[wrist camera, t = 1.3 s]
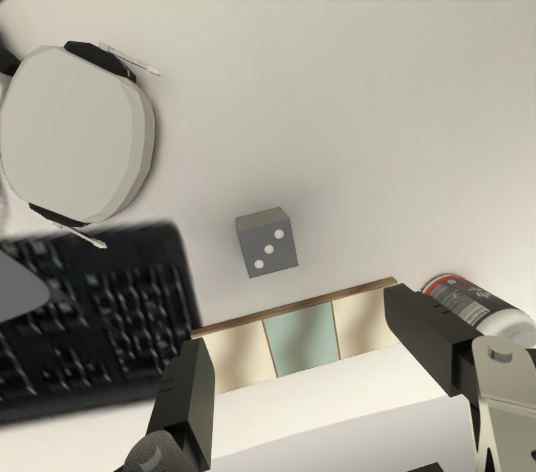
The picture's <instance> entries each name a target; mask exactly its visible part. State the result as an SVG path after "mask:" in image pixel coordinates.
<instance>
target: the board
mask: <svg viewBox="0 0 536 472" xmlns="http://www.w3.org/2000/svg"><path fill="white" fill-rule="evenodd" d="M393 285H397V281H396V280H395V279H394V278H393V277H391V278H387V279H383V280H379V281H376V282H372V283H368V284H364V285H361V286H357V287H353V288H349V289H346V290H342V291H338V292H334V293H331V294H327V295H323V296H319V297H316V298H312V299H308V300H304V301H301V302H297V303H293V304H289V305H285V306H282V307H278V308H274V309H270V310H267V311H263V312H259V313H255V314H252V315H248V316H244V317H240V318H237V319H233V320H229V321H225V322H222V323H218V324H214V325H210V326H207V327H203V328H199V329H195V330H192V331H191V338H192V339H196V338H200V337H202V338H203V339H204V341H205V344H206V347H207V350H208V352H209V355H210V358H211V360H212V363H213V366H214V371H215V395H218V394H222V393H225V392H229V391H232V390H236V389H239V388H243V387H246V386H250V385H253V384H257V383H260V382H264V381H268V380H271V379H275V378H278V377H282V376H285V375H289V374H292V373H296V372H299V371H303V370H306V369H310V368H314V367H317V366H321V365H324V364H328V363H331V362H335V361H338V360H342V359H345V358H349V357H352V356H356V355H360V354H363V353H367V352H370V351H374V350H377V349H381V348H384V347H388V346H391V345H395V344H398V343H400V340H399V339H398V338H397V337H396V336H395V335H394V334H393V333H392V331H391V330H390V329H389V327H388V325H387V322H386V319H385V310H384V295H383V290H384V288H386V287H389V286H393Z"/></svg>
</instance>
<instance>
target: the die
mask: <svg viewBox="0 0 536 472" xmlns="http://www.w3.org/2000/svg"><path fill="white" fill-rule="evenodd" d="M236 226H237V233H238V237H239V241H240V245H241V248H242V252H243V256H244V260H245V263H246V267H247V271H248V275H249V278H253V277H257V276H261V275H265V274H268V273H272V272H276V271H280V270H284V269H288V268H292V267H296V266H298V261H297V255H296V250H295V245H294V240H293V234H292V229H291V224H290V219H289V217H288V216H287V215H286V214H285V213H284V211H283V210H282V209H281V208H280V207H279V208H275V209H271V210H266V211H262V212H258V213H254V214H250V215H246V216H242V217H238V218H236Z"/></svg>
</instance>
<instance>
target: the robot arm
mask: <svg viewBox="0 0 536 472" xmlns="http://www.w3.org/2000/svg"><path fill="white" fill-rule="evenodd" d="M383 295H384V310H385V319H386V322H387V325H388V327H389V329H390V330H391V331H392V333H393V334H394V335H395V336H396V337H397V338H398V339H399V340H400V342H401V343H402V344H403V345H404V346H405V347H406V348H407V349H408V351H409V352H410V353H411V354H412V355H413V356H414V357H415V358H416V360H417V361H418V362H419V363H420V364H421V365H422V366H423V367H424V369H425V370H426V371H427V372H428V373H429V374H430V375H431V376H432V378H433V379H434V380H435V381H436V382H437V383H438V384H439V385H440V386H441V388H442V389H443V390H444V391H445V392H446V393H447V394H448V395H449V397H453V396H457V395H460V394H463V395H464V396H465V397H466V398H467V399H468V412H469V419H470V427H471V434H472V441H473V449H474V456H475V465H476V472H536V348H527V349H526V348H523V347H522V346H520V345H519V344H517V343H515V342H513V341H511V340H508V339H506V338H502V337H498V336H490V335H486V336H485V335H484V334H482V333H481V332H480V331H478V330H477V329H475V328H474V327H473V326H471V325H470V324H469V323H467V322H466V321H464V320H463V319H462V318H460V317H459V316H458V315H456V314H455V313H454V312H451V311H450V310H449V309H448V308H447V307H445V306H442V304H441V303H440V302H438V301H437V300H436V299H434V298H433V297H432V296H429V295H426V294H424V293H421V292H419V291H417V292H414V291H412V290H411V289H410V288H408V287H407V286H406V285H404V284H402V283H400V284H397V285H393V286H389V287H386V288H384V290H383ZM214 395H215V371H214V366H213V363H212V360H211V358H210V355H209V352H208V350H207V347H206V344H205V341H204V339H203V338H202V337H200V338H196V339H192V340H188V341H185V342H183V345H182V349H181V353H180V356H179V357H175V358H172V360H171V361H170V363H169V364H168V365H167V367H166V368H165V370H164V373H163V377H162V380H161V384H160V387H159V390H158V394H157V397H156V401H155V404H154V408H153V411H152V415H151V418H150V421H149V425H148V428H147V432H146V435H145V437H143V438H142V439H141V440H140V441H139V442H138V443H137V444H136V445H135V446H134V447H133V448H132V450H131V451H130V452H129V454H128V456H127V458H126V460H125V463H124V465H123V466H121V467H120V468H118V469H117V470H115V471H114V472H204V471H207V470H210V465H211V448H212V430H213V412H214ZM408 472H444V471H443V470H442V468H441V467H440V465H439V464H438V462H436V463H433V464H430V465H427V466H424V467H420V468H418V469H414V470H411V471H408Z"/></svg>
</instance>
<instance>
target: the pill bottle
mask: <svg viewBox="0 0 536 472" xmlns="http://www.w3.org/2000/svg"><path fill="white" fill-rule="evenodd" d="M422 293H424V294H426V295H429V296H432V297H433V298H434V299H436V300H437V301H438V302H440V303H441V304H442V306H445V307H447V308H448V309H449V310H450V311H451V312H454V313H455V314H456V315H458V316H459V317H460V318H462V319H463V320H464V321H466V322H467V323H469V324H470V325H471V326H473V327H474V328H475V329H477V330H478V331H480V332H481V333H482V334H484V335H485V336H486V335H490V336H498V337H502V338H506V339H508V340H511V341H513V342H515V343H517V344H519V345H520V346H522V347H523V348H526V349H527V348H536V324H535V322H534V321H533V319H532V318H531V317H530V316H529V315H527V314H526V313H524V312H523V311H521V310H519V309H518V308H516V307H514V306H512V305H511V304H509V303H507V302H505V301H503V300H502V299H500V298H498V297H496V296H494V295H493V294H491V293H489V292H487V291H485V290H484V289H482V288H480V287H478V286H477V285H475V284H473V283H471V282H469V281H468V280H466V279H464V278H462V277H460V276H457V275H443V276H440V277H438V278H436V279H434V280H432V281H431V282H430V283H429V284H428V285H427V286H426V287H425V288H424V290H423V291H422Z"/></svg>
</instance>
